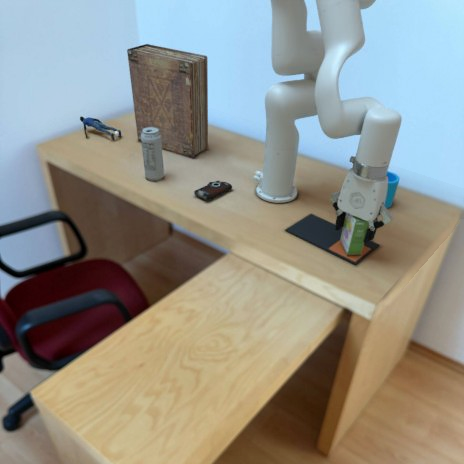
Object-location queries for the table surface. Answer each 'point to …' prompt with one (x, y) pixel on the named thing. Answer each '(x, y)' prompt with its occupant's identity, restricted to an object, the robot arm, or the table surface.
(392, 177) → the mug
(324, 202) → the table surface
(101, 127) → the person figurine
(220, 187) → the camera
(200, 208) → the table surface
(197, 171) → the table surface
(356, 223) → the ink box
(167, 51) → the book
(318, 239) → the desk mat
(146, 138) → the energy drink can
